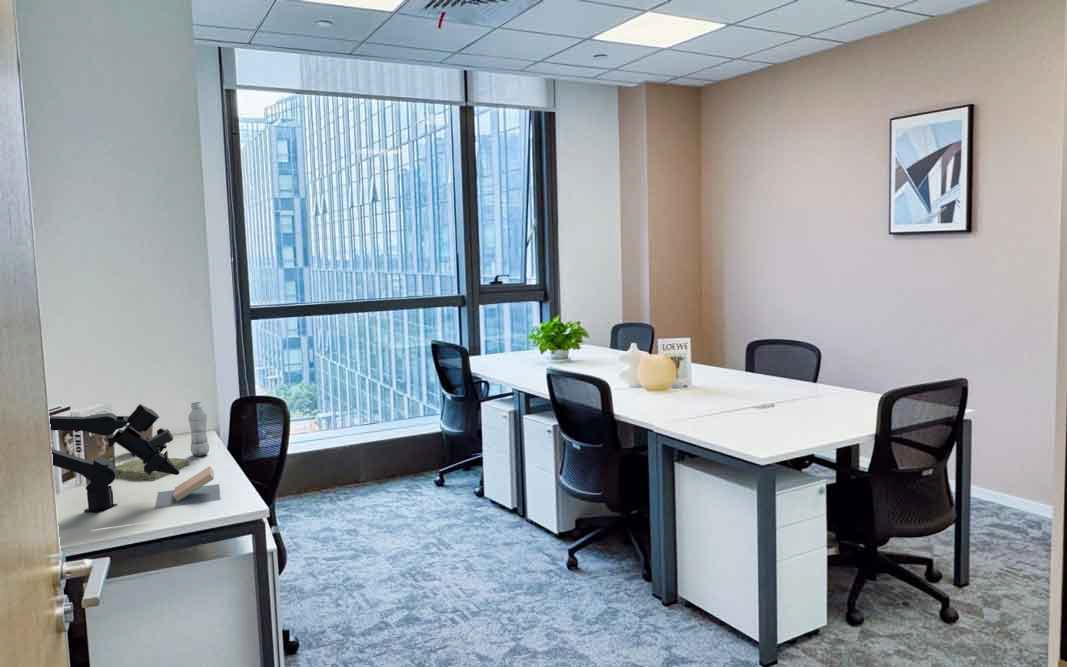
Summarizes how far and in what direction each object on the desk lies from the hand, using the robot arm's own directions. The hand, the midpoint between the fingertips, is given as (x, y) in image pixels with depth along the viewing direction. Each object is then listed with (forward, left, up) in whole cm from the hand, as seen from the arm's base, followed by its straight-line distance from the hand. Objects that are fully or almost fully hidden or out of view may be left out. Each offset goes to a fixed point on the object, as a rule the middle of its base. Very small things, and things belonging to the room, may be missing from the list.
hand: (178, 473), depth 241 cm
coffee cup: (+50, +55, -8) cm, 75 cm away
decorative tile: (+25, +32, -8) cm, 42 cm away
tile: (-1, +1, -6) cm, 7 cm away
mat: (+1, -2, -8) cm, 8 cm away
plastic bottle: (+48, +27, -8) cm, 55 cm away
